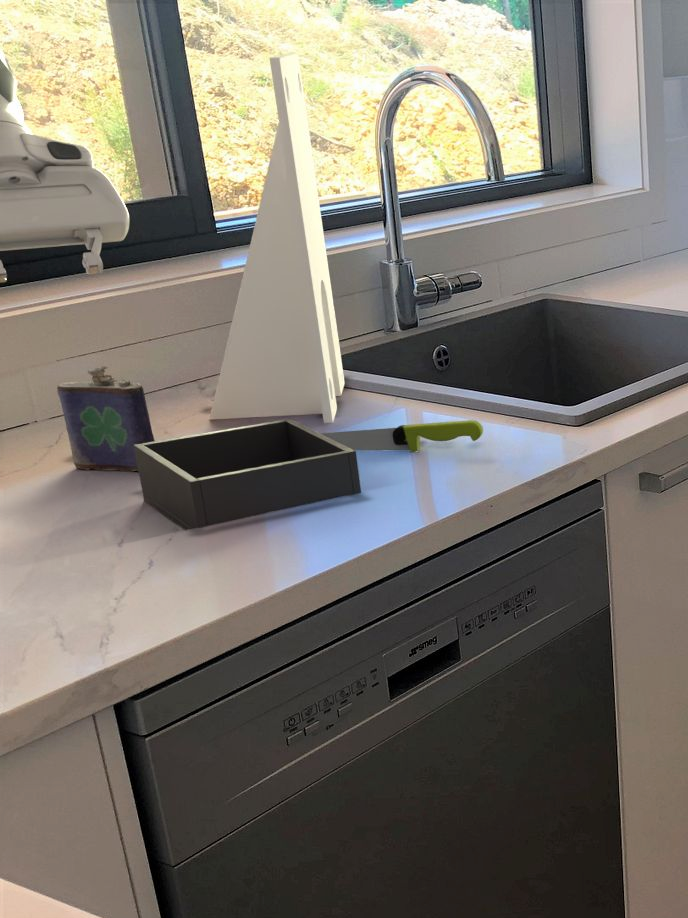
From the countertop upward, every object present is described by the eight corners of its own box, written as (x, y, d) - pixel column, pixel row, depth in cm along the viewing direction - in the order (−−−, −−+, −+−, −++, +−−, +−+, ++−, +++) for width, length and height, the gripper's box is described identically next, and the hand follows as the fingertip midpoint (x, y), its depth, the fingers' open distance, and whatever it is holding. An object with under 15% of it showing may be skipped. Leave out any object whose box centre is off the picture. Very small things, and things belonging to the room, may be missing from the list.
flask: (69, 469, 147) (47, 368, 143) (86, 461, 150) (65, 362, 145) (152, 473, 146) (132, 372, 142) (167, 465, 149) (148, 365, 144)
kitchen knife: (286, 462, 155) (279, 436, 153) (290, 459, 156) (284, 433, 155) (483, 448, 154) (478, 422, 153) (486, 445, 155) (481, 419, 154)
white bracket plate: (227, 389, 179) (168, 52, 163) (344, 383, 183) (298, 53, 166) (202, 429, 162) (133, 57, 145) (332, 422, 165) (279, 57, 149)
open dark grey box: (201, 542, 127) (190, 482, 125) (144, 501, 138) (132, 444, 135) (363, 507, 137) (356, 451, 135) (298, 471, 148) (290, 418, 145)
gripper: (-111, 155, 142) (-64, 265, 140) (103, 146, 155) (150, 247, 152) (-109, 196, 147) (-63, 304, 144) (99, 184, 160) (144, 283, 157)
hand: (48, 274), depth 149 cm, fingers open, 8 cm apart
